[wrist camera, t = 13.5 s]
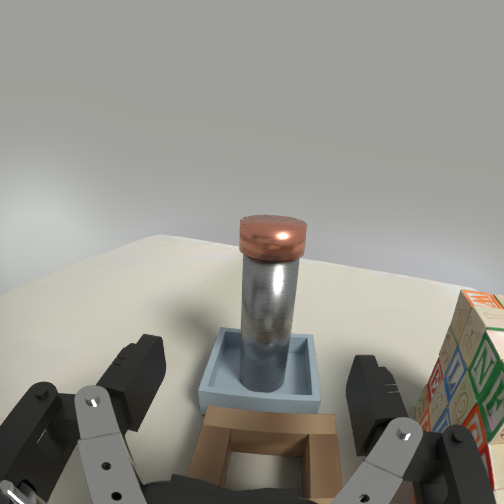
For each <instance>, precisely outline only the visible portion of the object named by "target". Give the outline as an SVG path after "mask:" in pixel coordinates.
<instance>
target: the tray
mask: <svg viewBox="0 0 504 504" xmlns="http://www.w3.org/2000/svg"><path fill="white" fill-rule="evenodd" d="M240 342H241V329H232V328H222V327H220V330H219V333H218V336H217V339H216V341H215V344H214V347H213V350H212V352H211V355H210V358H209V361H208V364H207V366H206V369H205V372H204V375H203V378H202V380H201V383H200V386H199V389H198V395H199V405H200V414H201V415H206V411H207V408H208V405H211V406H218V407H225V408H233V409H242V410H252V411H263V412H276V413H294V414H317V412H318V409H319V405H320V402H321V398H320V389H319V380H318V371H317V362H316V354H315V346H314V338H313V335H309V334H292V333H291V336H290V344H289V351H288V359H287V366H286V373H285V380H284V384H283V385H282V387H281V388H279V389H278V390H276V391H274V392H270V393H263V392H252V391H250V390H248V389H246V388H245V387H244V386H243V385H242V384H241V382H240Z"/></svg>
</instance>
